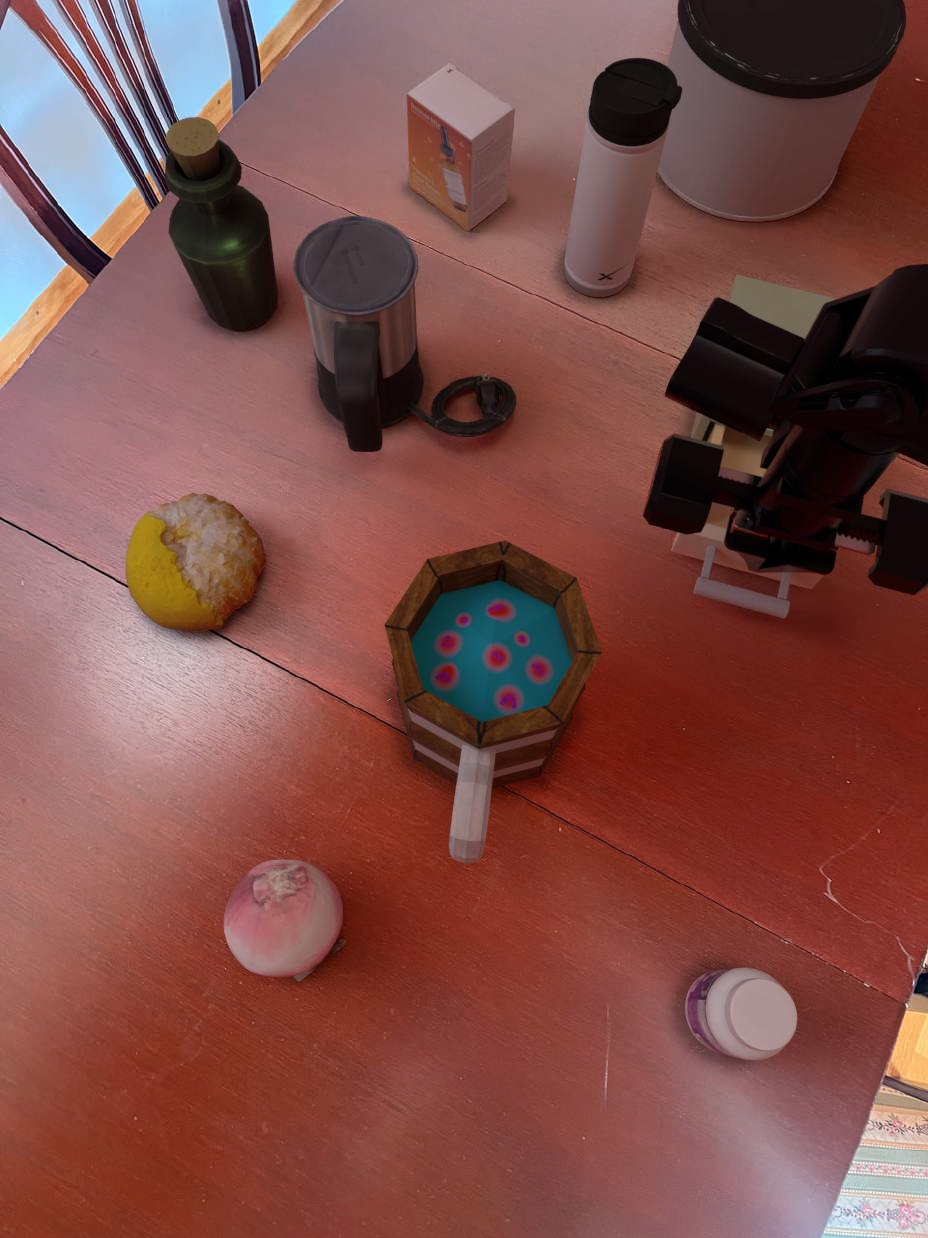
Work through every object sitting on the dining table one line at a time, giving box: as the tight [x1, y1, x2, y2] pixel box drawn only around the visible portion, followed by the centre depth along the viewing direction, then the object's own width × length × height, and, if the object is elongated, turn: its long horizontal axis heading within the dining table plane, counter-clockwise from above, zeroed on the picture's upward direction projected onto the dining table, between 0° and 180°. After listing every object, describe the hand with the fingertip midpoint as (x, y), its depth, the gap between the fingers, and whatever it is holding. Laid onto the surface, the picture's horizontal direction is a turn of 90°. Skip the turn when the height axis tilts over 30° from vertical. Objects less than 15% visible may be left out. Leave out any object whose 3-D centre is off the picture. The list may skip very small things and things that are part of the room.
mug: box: [383, 540, 603, 865], centre depth 65 cm, size 20×14×15 cm
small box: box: [406, 62, 516, 232], centre depth 86 cm, size 8×6×10 cm
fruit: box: [125, 492, 268, 633], centre depth 74 cm, size 11×10×8 cm
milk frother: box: [292, 215, 517, 453], centre depth 76 cm, size 14×16×15 cm
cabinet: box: [689, 274, 838, 442], centre depth 81 cm, size 15×13×6 cm
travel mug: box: [563, 57, 682, 298], centre depth 79 cm, size 6×7×20 cm
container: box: [657, 0, 907, 223], centre depth 87 cm, size 19×19×15 cm
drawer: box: [671, 421, 825, 620], centre depth 76 cm, size 18×11×4 cm, turn 163°
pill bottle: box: [684, 967, 798, 1061], centre depth 61 cm, size 5×5×10 cm
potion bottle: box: [164, 116, 279, 331], centre depth 78 cm, size 8×8×18 cm
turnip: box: [223, 859, 347, 983], centre depth 63 cm, size 8×8×7 cm
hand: (754, 565), depth 70 cm, fingers closed
